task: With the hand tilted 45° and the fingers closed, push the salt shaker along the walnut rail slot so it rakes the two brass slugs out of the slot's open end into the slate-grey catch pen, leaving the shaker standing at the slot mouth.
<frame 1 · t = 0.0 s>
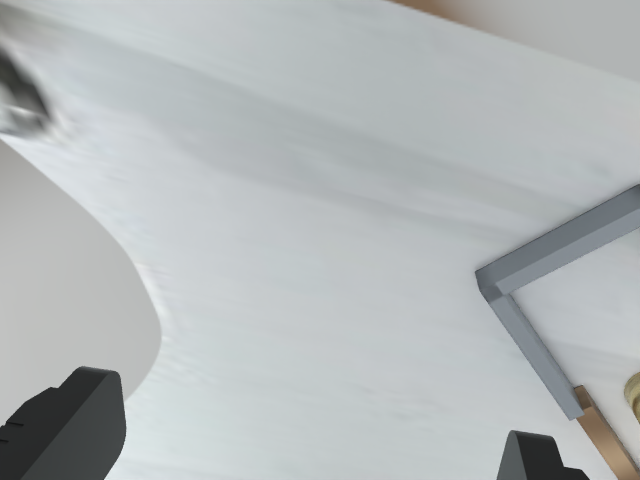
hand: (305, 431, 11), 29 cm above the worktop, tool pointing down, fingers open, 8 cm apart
catch pen: (599, 305, 40), on the worktop
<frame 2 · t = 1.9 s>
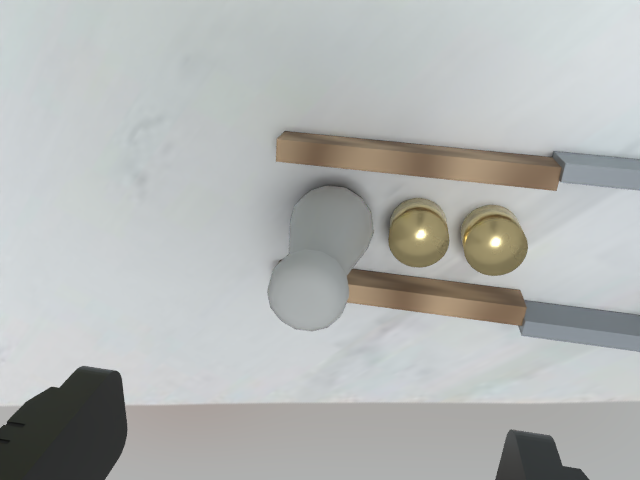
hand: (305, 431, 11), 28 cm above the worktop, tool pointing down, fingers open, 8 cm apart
catch pen: (622, 248, 37), on the worktop
chip b: (489, 231, 38), on the worktop
chip a: (418, 224, 39), on the worktop
slot rails: (404, 222, 39), on the worktop
salt shaker: (336, 213, 39), on the worktop
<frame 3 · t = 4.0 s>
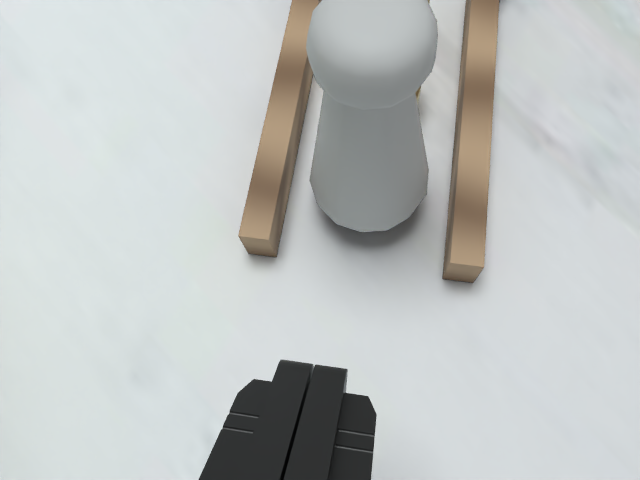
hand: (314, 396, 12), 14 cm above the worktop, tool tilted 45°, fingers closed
slot rails: (379, 117, 30), on the worktop
salt shaker: (368, 198, 29), on the worktop
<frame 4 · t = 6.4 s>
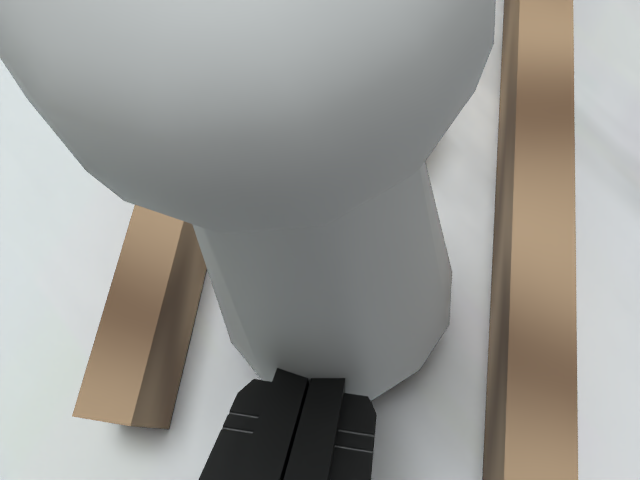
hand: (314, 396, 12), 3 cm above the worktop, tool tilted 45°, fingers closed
slot rails: (361, 158, 17), on the worktop
salt shaker: (341, 308, 16), on the worktop, touching gripper
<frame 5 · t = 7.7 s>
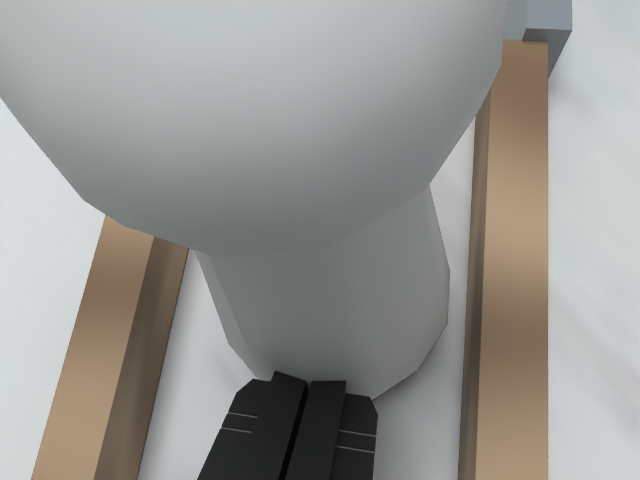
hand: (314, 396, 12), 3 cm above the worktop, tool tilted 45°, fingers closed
slot rails: (311, 350, 15), on the worktop
salt shaker: (338, 306, 16), on the worktop, touching gripper
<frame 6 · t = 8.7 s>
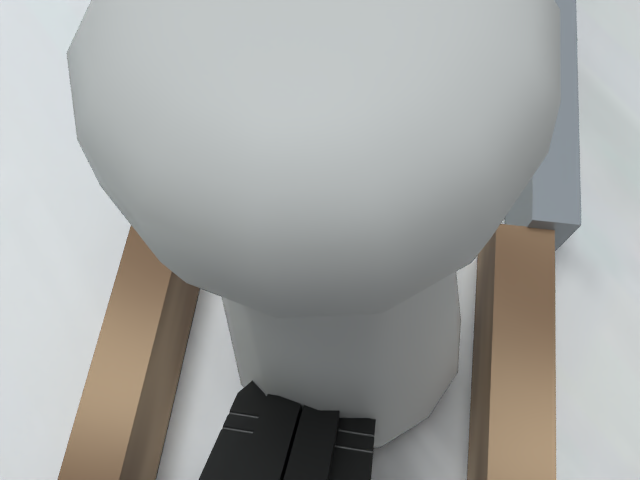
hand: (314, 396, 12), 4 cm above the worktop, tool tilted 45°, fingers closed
catch pen: (364, 84, 19), on the worktop
salt shaker: (346, 348, 16), on the worktop, touching chip a, gripper
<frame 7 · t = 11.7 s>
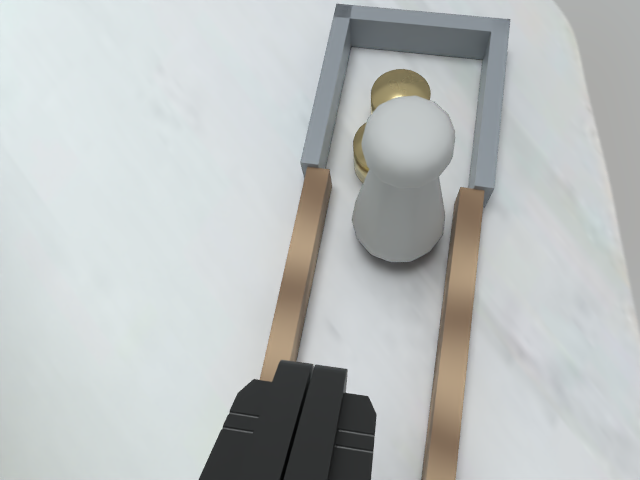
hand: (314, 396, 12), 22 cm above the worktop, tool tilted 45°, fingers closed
catch pen: (404, 120, 39), on the worktop
chip b: (398, 118, 39), on the worktop
chip a: (382, 165, 38), on the worktop
slot rails: (371, 321, 34), on the worktop
salt shaker: (396, 232, 36), on the worktop
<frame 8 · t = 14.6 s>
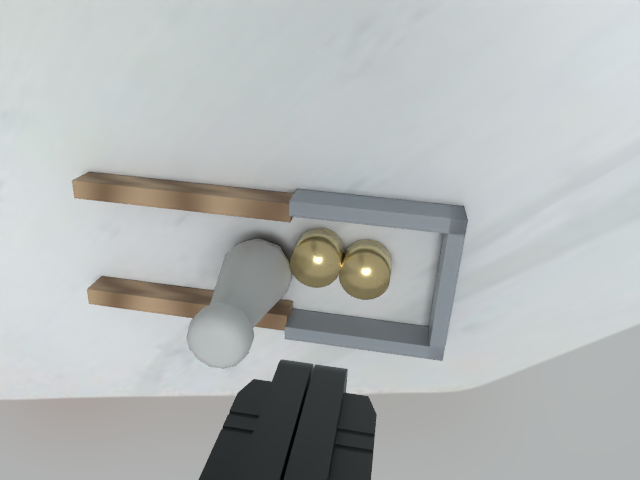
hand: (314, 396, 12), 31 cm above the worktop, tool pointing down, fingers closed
catch pen: (364, 266, 45), on the worktop
chip b: (367, 261, 45), on the worktop
chip a: (320, 249, 45), on the worktop
slot rails: (193, 245, 47), on the worktop
salt shaker: (264, 260, 46), on the worktop
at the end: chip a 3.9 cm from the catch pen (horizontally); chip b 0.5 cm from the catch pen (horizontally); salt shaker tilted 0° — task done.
